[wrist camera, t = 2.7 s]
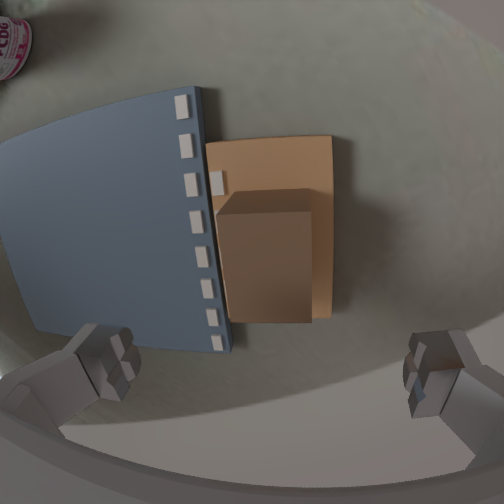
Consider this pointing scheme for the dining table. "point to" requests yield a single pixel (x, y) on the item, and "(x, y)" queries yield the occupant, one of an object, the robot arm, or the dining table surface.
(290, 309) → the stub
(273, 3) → the dining table surface
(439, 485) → the robot arm
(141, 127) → the blue-grey flat panel
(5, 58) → the pill bottle
